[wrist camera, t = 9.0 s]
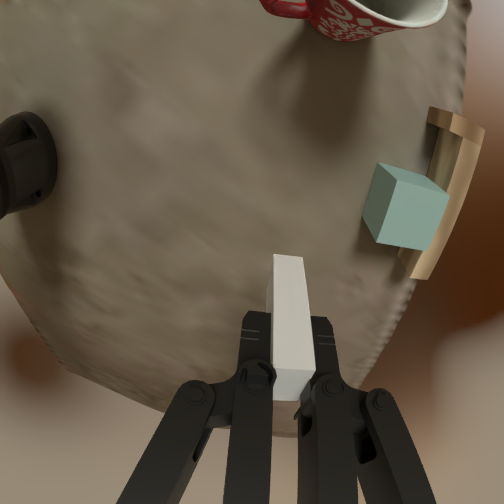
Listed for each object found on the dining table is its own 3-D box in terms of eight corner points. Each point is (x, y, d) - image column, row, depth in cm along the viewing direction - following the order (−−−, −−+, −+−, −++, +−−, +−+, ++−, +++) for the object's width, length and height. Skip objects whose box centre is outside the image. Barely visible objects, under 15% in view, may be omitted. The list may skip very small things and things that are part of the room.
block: (361, 215, 31) (376, 242, 26) (377, 161, 27) (397, 180, 22) (408, 225, 31) (427, 251, 26) (425, 176, 27) (450, 196, 22)
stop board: (385, 252, 34) (396, 276, 30) (429, 106, 22) (453, 112, 18) (413, 257, 34) (427, 279, 30) (460, 120, 22) (484, 130, 18)
